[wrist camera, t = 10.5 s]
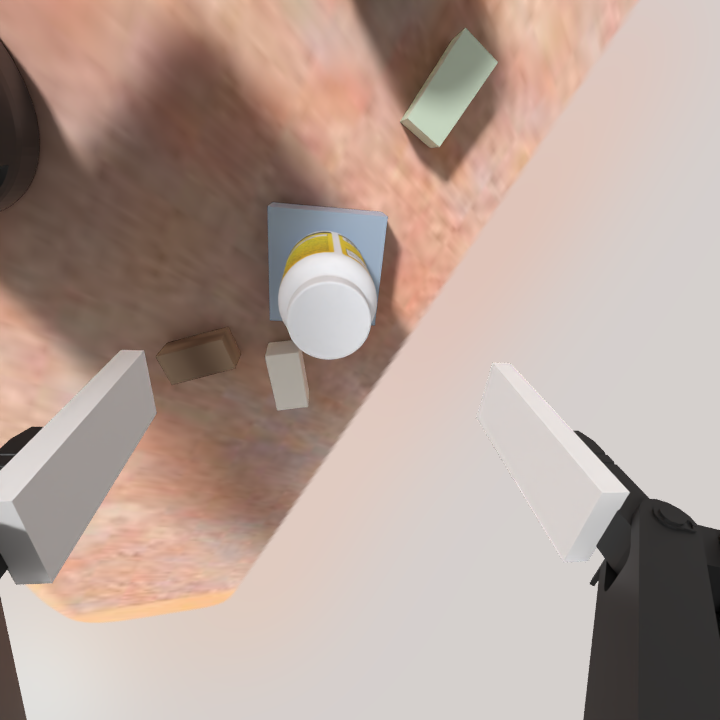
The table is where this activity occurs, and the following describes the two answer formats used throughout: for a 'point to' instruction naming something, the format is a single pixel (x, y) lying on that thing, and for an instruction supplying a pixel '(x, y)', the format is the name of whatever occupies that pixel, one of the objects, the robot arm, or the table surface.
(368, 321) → the pill bottle
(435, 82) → the sage brick
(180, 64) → the table surface
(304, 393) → the cream brick
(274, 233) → the slab
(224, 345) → the walnut brick
